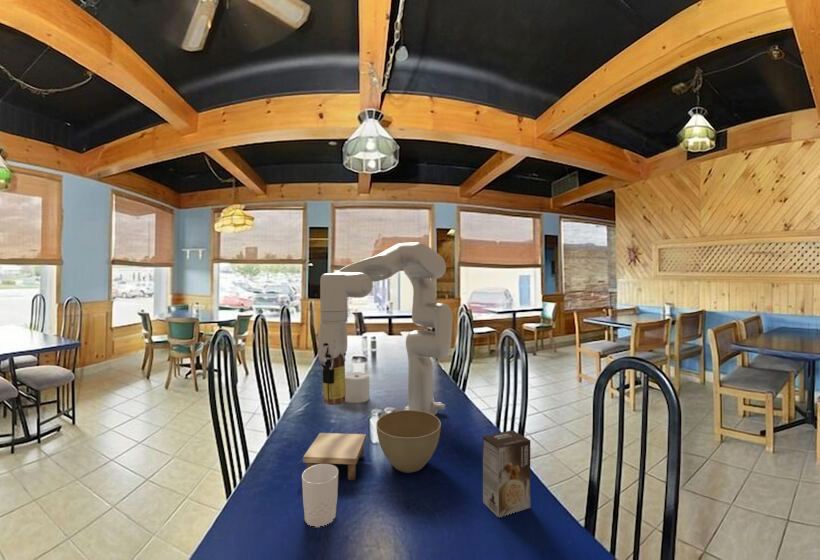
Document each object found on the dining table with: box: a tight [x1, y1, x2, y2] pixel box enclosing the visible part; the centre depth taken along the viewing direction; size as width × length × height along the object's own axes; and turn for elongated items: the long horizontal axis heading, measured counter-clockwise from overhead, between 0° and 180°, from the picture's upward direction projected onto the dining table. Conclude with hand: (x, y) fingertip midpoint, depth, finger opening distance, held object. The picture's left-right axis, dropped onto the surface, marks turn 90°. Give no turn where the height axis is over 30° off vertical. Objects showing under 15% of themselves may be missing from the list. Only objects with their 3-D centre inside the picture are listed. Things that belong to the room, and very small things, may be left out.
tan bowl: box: [375, 409, 442, 474], centre depth 103 cm, size 18×18×12 cm
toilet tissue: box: [344, 371, 370, 404], centre depth 155 cm, size 11×12×10 cm
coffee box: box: [482, 429, 531, 519], centre depth 85 cm, size 9×6×16 cm
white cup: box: [301, 463, 339, 528], centre depth 81 cm, size 8×8×10 cm
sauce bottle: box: [322, 353, 346, 406], centre depth 104 cm, size 6×6×20 cm
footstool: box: [302, 432, 367, 481], centre depth 102 cm, size 14×14×6 cm
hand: (334, 378), depth 104 cm, fingers closed on sauce bottle, 6 cm apart
